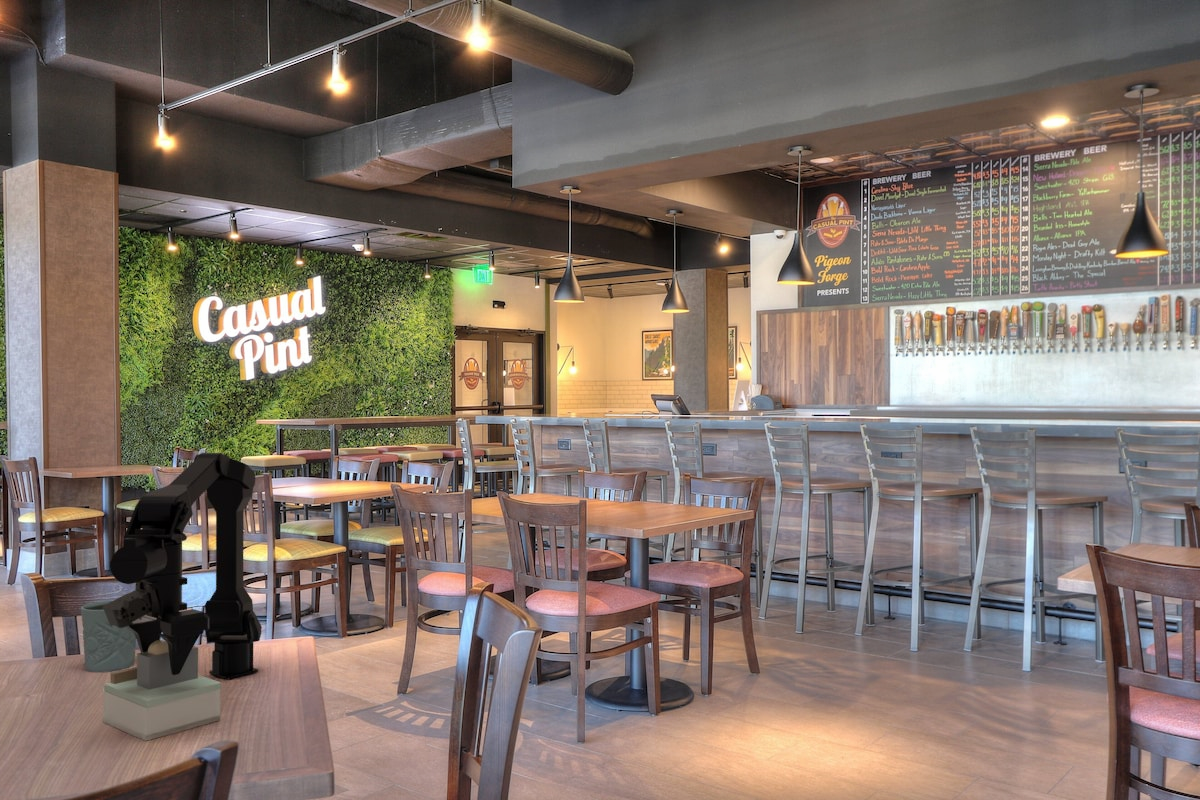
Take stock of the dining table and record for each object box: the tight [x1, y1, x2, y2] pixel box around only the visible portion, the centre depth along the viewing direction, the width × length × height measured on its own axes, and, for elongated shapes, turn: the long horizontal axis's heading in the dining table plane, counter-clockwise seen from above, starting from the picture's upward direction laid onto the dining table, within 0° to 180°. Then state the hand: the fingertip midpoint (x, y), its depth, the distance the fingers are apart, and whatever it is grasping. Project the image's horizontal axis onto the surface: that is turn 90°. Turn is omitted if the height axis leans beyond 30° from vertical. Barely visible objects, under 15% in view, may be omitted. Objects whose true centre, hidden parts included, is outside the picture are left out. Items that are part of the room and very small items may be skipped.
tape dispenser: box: [136, 639, 199, 690], centre depth 150 cm, size 8×4×7 cm, turn 142°
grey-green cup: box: [80, 600, 137, 673], centre depth 182 cm, size 10×10×12 cm
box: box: [102, 689, 221, 742], centre depth 149 cm, size 12×14×5 cm
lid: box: [103, 666, 222, 707], centre depth 149 cm, size 12×14×3 cm
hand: (162, 669), depth 149 cm, fingers open, 8 cm apart
